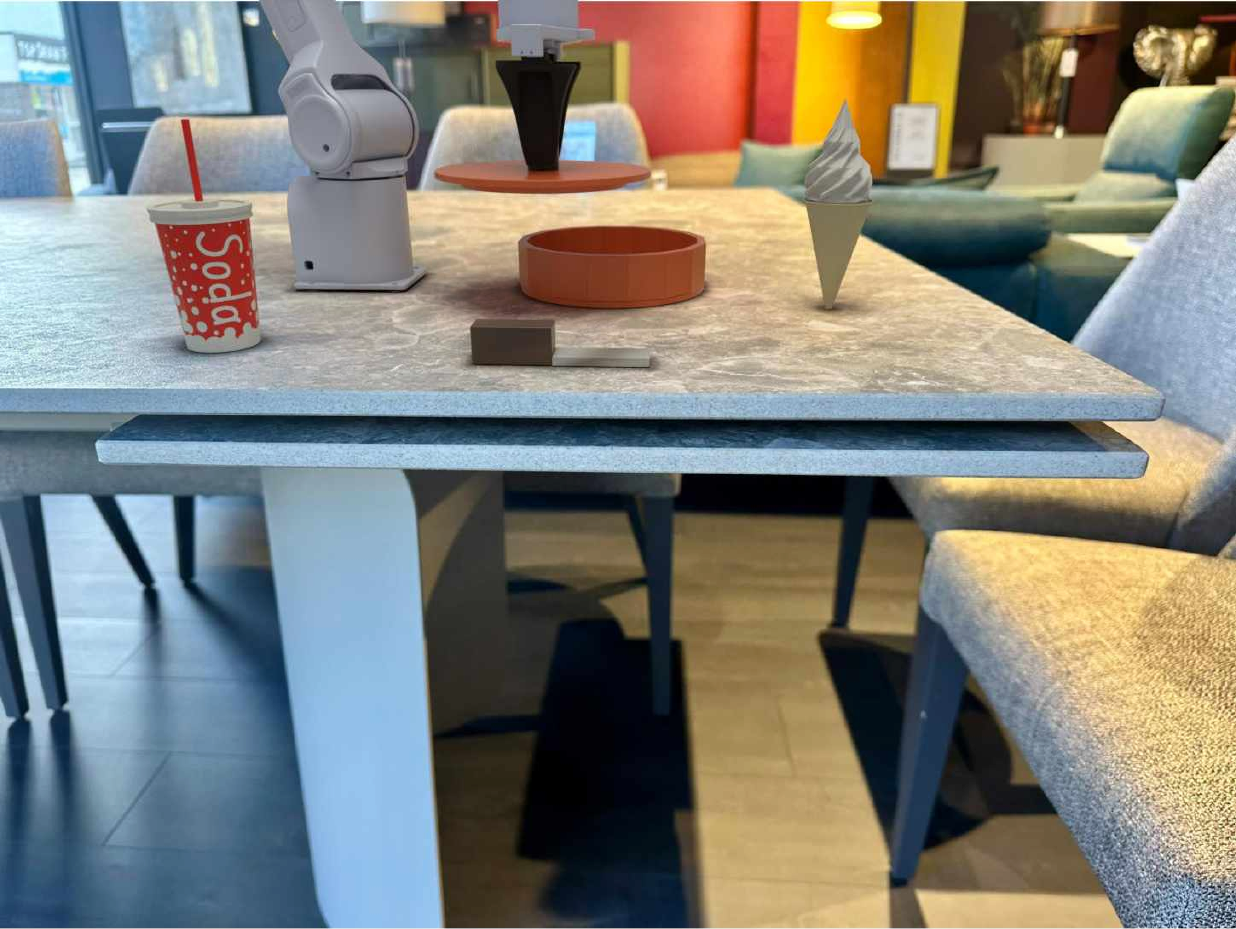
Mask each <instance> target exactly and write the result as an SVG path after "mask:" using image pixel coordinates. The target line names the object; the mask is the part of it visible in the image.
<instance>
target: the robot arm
mask: <svg viewBox="0 0 1236 929" xmlns="http://www.w3.org/2000/svg"><path fill="white" fill-rule="evenodd" d="M258 2H259V4H260V6H261V8H262V10H263V11H264V14H265V16H266V18H267V20H268V22H269V25H270V26H271V28H272V29H271V30H273V33H274V35H275V37H276V39H277V42H278V44H279V45H280V48H281V49H282V52H283V54H284V56H285V57H286V61H287V62H288V64H289V67H288V70H287V71H286V73H285V75H284V77H283V79H282V80H281V81H280V82H281V83H280V85H279V87H278V90H277V94H278V96H279V99H280V100H281V102H282V105H283V107H284V109H285V113H286V117H287V124H288V133H289V138H290V141H291V144H292V147H293V150H294V151H295V153H296V155H297V156H298V157H299V159H300V160H301V162H303V164H305V165H306V166H307V167H308V169H309V175H300V176H296V177H294V178H293V179H292V180H291V182H290V184H289V185H288V186H289V187H288V190H287V197H286V211H287V212H286V213H287V221H288V228H289V234H290V235H289V236H290V243H291V250H292V257H293V264H294V271H295V279H296V281H295V282H294V283H293V288H294V289H296V290H352V291H353V290H354V291H355V290H356V291H357V290H359V291H367V290H369V291H374V290H375V291H404V290H407V289H408V288H410V287H411V286H412V285H413V284H414V283H416V282H417V281H418V280H420V279H421V278H422V277H423V276H425V275H426V274H427V273H428V267H426V266H414V260H413V258H414V257H413V249H412V237H411V226H410V215H409V202H408V192H407V182H406V174H405V173H406V172H409V167H408V166H409V164H408V159H410V158H411V156H412V155H413V154H414V153H415V150H416V148H417V145H418V142H419V138H420V137H419V136H420V127H419V121H418V117H417V113H416V111H415V109H414V107H413V105H412V104H411V102H410V101H409V99H408V98H407V97H406V96H405V95H404V94H403V93H402V92H400V91H399V90H398V89H397V87H396V86H394V84H393V83H392V81H391V79H390V78H389V75H388V73H387V71H386V69H385V67H384V66H383V65H382V64H381V63H380V62H378V61H377V60H376V59H375V58H374V57H373V56H371V55H370V54H369V53H368V52H366V51H365V50H364V49H363V48H362V47H360V46H359V44H357V43H356V41H355V40H354V37H353V35H352V32H351V30H350V29H349V27H348V24H347V22H346V20H345V18H344V16H343V14H342V11H341V9H340V7H339V4H338V3H337V1H336V0H258ZM497 9H498V11H497V12H498V28H497V29H496V31H495V32H496V41H497V42H499V43H508V44H510V45H511V46H510V47H511V56H512V57H515V58H518V57H519V58H520V59H517V60H516V59H496V60H495V62H494V64H495V69H496V71H497V75H498V76H499V78H500V81H501V82H502V85H503V87H504V88H505V90H506V93H507V96H508V98H509V102H510V104H511V109H512V110H513V115H514V120H515V124H516V128H517V134H518V137H519V143H520V147H521V151H522V156H523V159H524V160H525V162H526V165H534V166H553V165H554V164H555V160H556V156H557V151H558V144H559V158H560V157H561V151H562V147H563V142H564V134H565V133H564V132H565V125H566V119H567V112H568V109H569V108H568V107H569V103H570V100H571V96H572V92H573V90H574V86H575V84H576V81H577V79H578V77H579V74H580V72H581V69H582V62H581V61H563V59H564V58H563V56H564V55H563V45H569V44H576V43H581V42H582V41H595V40H596V30H594V29H593V28H579V27H580V26H579V0H497Z"/></svg>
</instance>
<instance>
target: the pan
mask: <svg viewBox="0 0 1236 929" xmlns="http://www.w3.org/2000/svg"><path fill="white" fill-rule="evenodd" d="M517 250H518V252H517V253H518V273H519V274H518V275H519V284H520V286H521V291H522V293H524V294H525V295H526V296H528V297H530V298H532V299H535V300H538V301H540V302H545V303H549V304H553V305H554V304H555V305H561V306H567V307H568V306H569V307H576V308H577V307H579V308H593V309H633V308H634V309H635V308H647V307H657V306H663V305H670V304H676V303H679V302H685V301H688V300H690V299H694V298H695V297H697V296H699V295H700V294H702V292H703V291H704V289H705V288H704V287H705V284H706V282H705V281H706V256H707V241H706V238H705V237H704V236H702V235H700V234H697V233H695V232H691V231H687V230H681V229H675V228H669V227H668V228H667V227H657V226H645V225H609V224H607V225H604V224H603V225H602V224H601V225H599V224H598V225H584V226H581V225H580V226H567V227H566V226H565V227H559V228H552V229H544V230H538V231H535V232H531V233H527V234H525V235H522V236H521V237H520V239H519V240H518V241H517Z"/></svg>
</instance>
